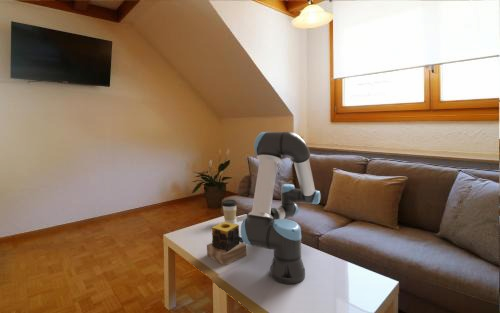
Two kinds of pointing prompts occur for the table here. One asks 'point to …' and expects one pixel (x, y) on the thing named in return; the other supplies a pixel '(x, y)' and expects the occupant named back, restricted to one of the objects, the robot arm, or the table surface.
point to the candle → (225, 236)
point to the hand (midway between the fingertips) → (243, 223)
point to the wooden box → (226, 253)
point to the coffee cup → (229, 210)
